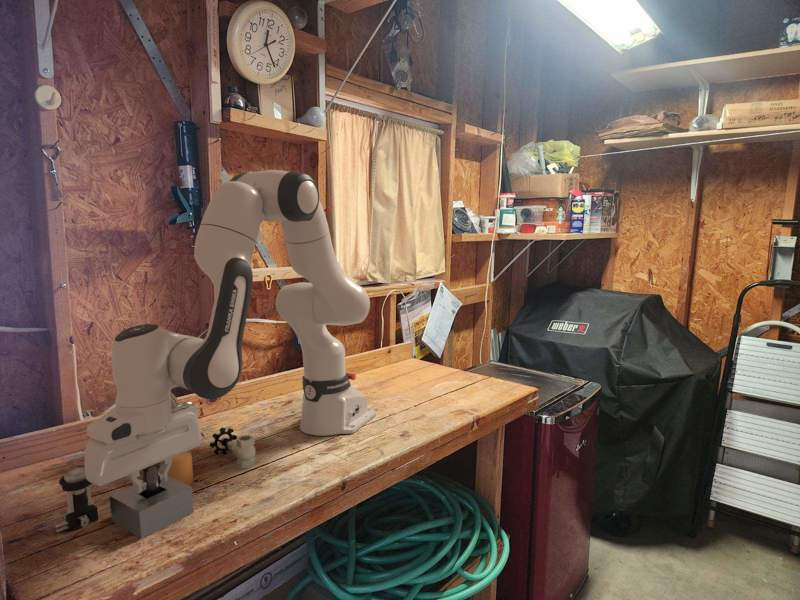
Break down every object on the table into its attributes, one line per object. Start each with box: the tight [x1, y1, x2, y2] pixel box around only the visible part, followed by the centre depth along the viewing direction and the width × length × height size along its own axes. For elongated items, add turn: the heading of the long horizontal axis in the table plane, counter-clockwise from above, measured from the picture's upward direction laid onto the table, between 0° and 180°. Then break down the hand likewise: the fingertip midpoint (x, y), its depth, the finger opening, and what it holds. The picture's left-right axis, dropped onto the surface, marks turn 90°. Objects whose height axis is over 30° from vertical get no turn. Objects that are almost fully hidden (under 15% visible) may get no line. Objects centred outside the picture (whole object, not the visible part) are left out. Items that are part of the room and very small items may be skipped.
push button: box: [55, 466, 99, 533], centre depth 89 cm, size 7×5×10 cm
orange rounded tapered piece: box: [167, 451, 194, 486], centre depth 104 cm, size 5×5×6 cm
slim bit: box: [141, 463, 160, 499], centre depth 92 cm, size 3×3×8 cm
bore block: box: [109, 476, 194, 540], centre depth 92 cm, size 10×10×5 cm
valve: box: [209, 427, 257, 470], centre depth 115 cm, size 7×7×12 cm
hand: (151, 486), depth 92 cm, fingers closed on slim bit, 3 cm apart
